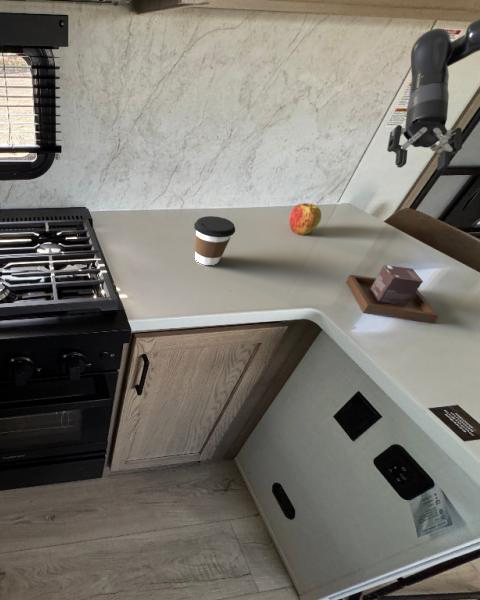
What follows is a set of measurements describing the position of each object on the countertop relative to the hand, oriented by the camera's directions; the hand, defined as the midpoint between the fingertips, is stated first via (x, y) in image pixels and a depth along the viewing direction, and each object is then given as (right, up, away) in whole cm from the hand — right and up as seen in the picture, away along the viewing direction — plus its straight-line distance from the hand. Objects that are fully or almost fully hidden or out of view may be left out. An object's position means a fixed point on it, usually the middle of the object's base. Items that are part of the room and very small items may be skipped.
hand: (421, 167), depth 86 cm
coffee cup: (-48, -22, +16) cm, 55 cm away
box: (-9, -33, -1) cm, 34 cm away
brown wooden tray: (-9, -33, 0) cm, 35 cm away
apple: (-11, -10, +31) cm, 35 cm away
